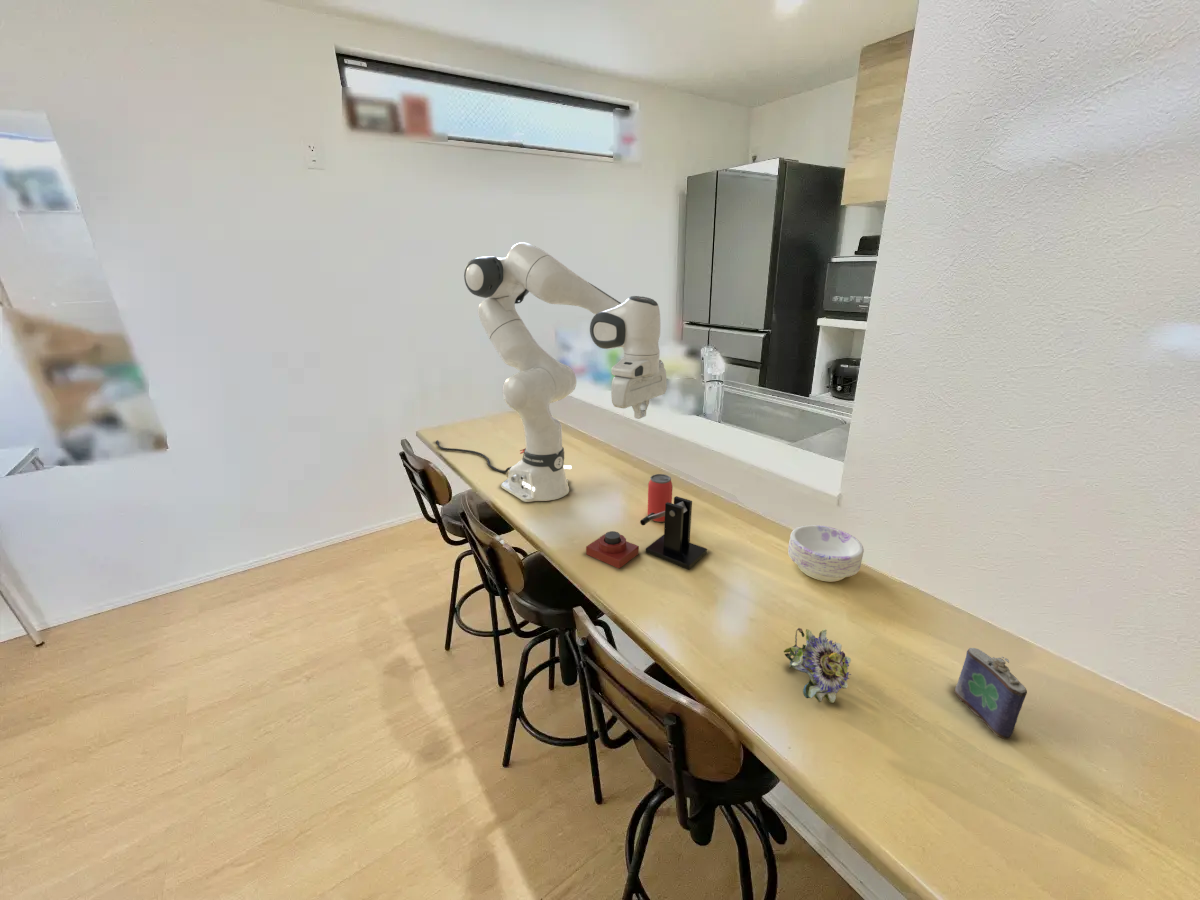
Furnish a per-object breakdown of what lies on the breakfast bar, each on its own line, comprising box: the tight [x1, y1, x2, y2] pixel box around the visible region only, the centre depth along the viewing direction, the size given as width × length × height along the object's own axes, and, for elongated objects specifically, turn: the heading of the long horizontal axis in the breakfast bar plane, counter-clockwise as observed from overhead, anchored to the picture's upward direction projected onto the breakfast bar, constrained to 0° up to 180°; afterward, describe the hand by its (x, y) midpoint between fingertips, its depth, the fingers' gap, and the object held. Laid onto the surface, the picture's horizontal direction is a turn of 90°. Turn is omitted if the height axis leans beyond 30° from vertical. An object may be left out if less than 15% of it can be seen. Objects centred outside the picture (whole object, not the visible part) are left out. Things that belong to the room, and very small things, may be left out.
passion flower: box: [783, 627, 852, 704], centre depth 82 cm, size 11×11×12 cm
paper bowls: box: [787, 524, 865, 583], centre depth 112 cm, size 15×15×8 cm
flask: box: [954, 647, 1028, 740], centre depth 75 cm, size 9×3×11 cm, turn 8°
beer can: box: [647, 473, 674, 523], centre depth 135 cm, size 7×7×12 cm
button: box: [604, 530, 621, 545], centre depth 119 cm, size 4×4×2 cm
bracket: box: [645, 496, 708, 570], centre depth 118 cm, size 12×9×14 cm
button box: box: [585, 533, 640, 569], centre depth 119 cm, size 10×8×4 cm
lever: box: [639, 502, 687, 526], centre depth 119 cm, size 12×5×2 cm
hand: (640, 417), depth 128 cm, fingers closed
